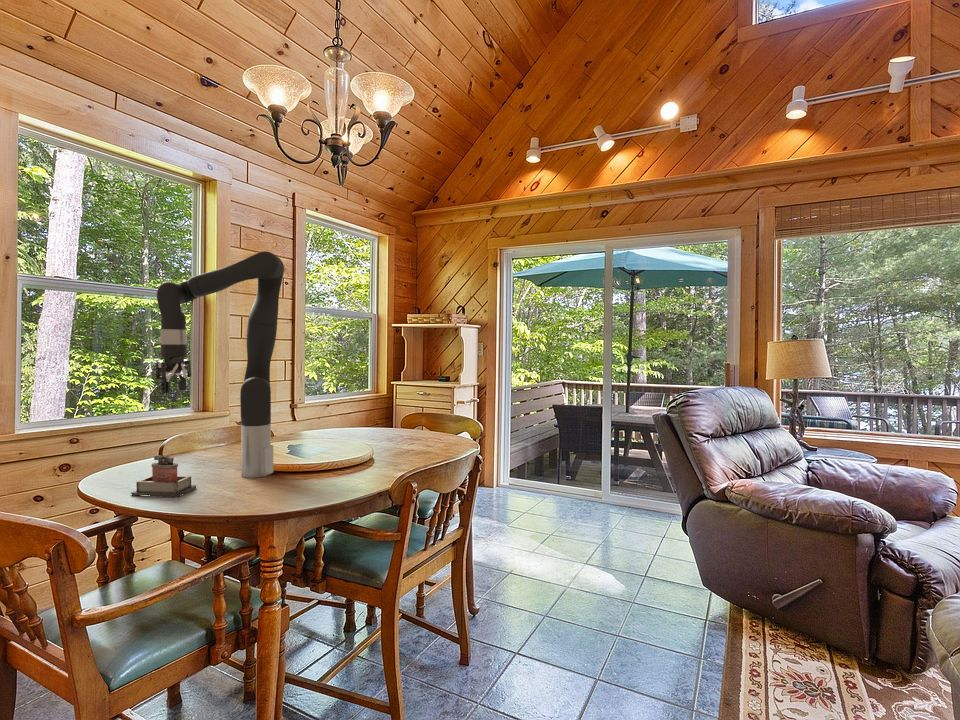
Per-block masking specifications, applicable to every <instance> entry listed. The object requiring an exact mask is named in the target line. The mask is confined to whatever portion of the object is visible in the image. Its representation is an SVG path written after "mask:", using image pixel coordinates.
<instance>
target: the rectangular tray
mask: <svg viewBox="0 0 960 720" xmlns="http://www.w3.org/2000/svg"><path fill="white" fill-rule="evenodd" d="M135 485H136V490H135V491H134V490H133V491H131V492H130V495H131V494H132V495H150V496H164V497H163V498H174V497H177V498H179V497H181V496H180V495H182V494H184V495H186V494H188V493H189V491H190V492H192V491H194V490H196V489H197V484H196V485H194V484H192V476H189V475H187V476H186V475H177V482H158V481H152V475H150V476H148V477H145V478H143V479H140V480H137V481H136V484H135ZM193 489H194V490H193ZM191 490H192V491H191ZM187 492H188V493H187ZM185 493H186V494H185ZM178 496H179V497H178ZM182 496H183V495H182Z"/></svg>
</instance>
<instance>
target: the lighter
mask: <svg viewBox="0 0 960 720" xmlns="http://www.w3.org/2000/svg"><path fill="white" fill-rule="evenodd" d="M174 457H175V456H171V455H169V454H166V455H154V457H153V461H157V462H153V463H151V468H152V470H151V472H152V474H151V476H152V481H158V482H177V476H178V467H179V463H175V462H174V460H175V458H174Z"/></svg>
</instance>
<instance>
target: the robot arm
mask: <svg viewBox="0 0 960 720" xmlns="http://www.w3.org/2000/svg"><path fill="white" fill-rule="evenodd" d="M284 265H285V264H284V263H283V261H282V260H281V258H280V257H278V256H277V255H276V254H274V253H272V252H270V251H265V250H264V251H263V250H262V251H259V252H257V253H254V254H252V255H250V256H249V257H246V258H244V259H242V260H240V261H237V262H235V263H233V264H232V263H231V264H230V265H227V266H224V267H221V268H217V269H215V270H210V271H206V272H204V273H200V274H197V275H193V276H191V277H189V278H188V280H185V281H181V282H177V283H176V282H172V281H165V282H163V283H160V285H159V286H158V288H157V289H156V290H157V291H156V301H157V305H158V309H159V314H160V316H161V317H160V329H161V330H160V340H159V341H160V357H161V358H163V361H159V360H158V361H156V363H155V380H156V381H159V382H161V383H160V387H161V389H160V390H161V393H162V394H170V392H171V391H170V380H171V378H172V377H174V375H176V376H177V377H178V391H180V392H181V391H182V392H184V391H186V390H187V380H188V378H191V377H192V370H191V369H192V368H191V367H192V366H191V360H190V359H184V358H186V357H187V356H188V342H187V341H188V336H187V330H186V329H187V325H186V323H187V322H186V314H185V313H184V312H182V309H181V305H182V304H186V303H189V302H192V301H194V300H196V299H198V298H200V297H205V296H208V295H211V294H214V293H215V294H216V293H218V292H221V291H223V290H225V289H229V288H231V286H232V287H233V286H234V285H236V284H238V283H240V282H244V281H245V282H246V281H249V280H254V279H255V280H256V279H257V288H256V289H257V290H256V295H255V299H254V302H253V304H252V306H251V309H250V312H249V315H248V319H247V327H246V328H247V329H246V355H247V356H246V357H247V358H246V359H247V361H246V370H245V374H244V378H243V383H242V385H241V388H240V395H239V396H240V397H239V399H240V400H239V401H240V403H239V404H240V428H241V429H240V437H241V438H240V443H241V444H240V446H241V448H240V453H241V454H240V456H241V458H240V462H241V464H240V465H241V466H240V467H241V469H240V471H241V472H240V473H241V476H242V477H243V478H253V479H255V478H266V477H267V476H269V475H271V474H273V473H274V445H273V444H271V443H272V442H271V439H272V435H271V431H272V422H271V421H272V411H271V409H272V406H271V404H272V398H271V397H272V396H271V395H272V394H271V393H272V392H271V391H272V390H271V388H272V387H271V380H270V379H271V375H270V374H271V373H270V372H271V361H272V358H273V357H272V356H273V353H274V349H275V345H276V338H277V330H278V318H279V317H278V316H279V300H280V299H279V298H280V291H281V287H282V281H283V279H284V278H283V277H284V273H285V266H284Z"/></svg>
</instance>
